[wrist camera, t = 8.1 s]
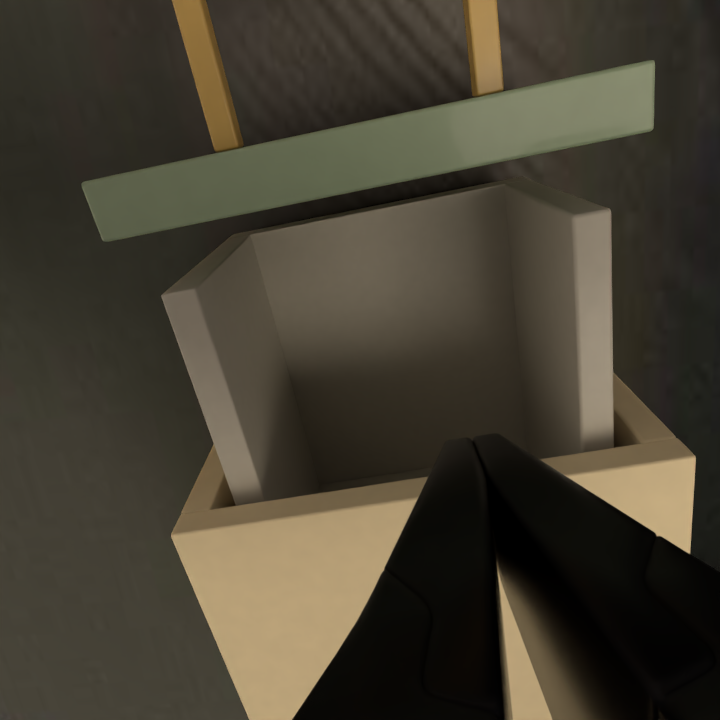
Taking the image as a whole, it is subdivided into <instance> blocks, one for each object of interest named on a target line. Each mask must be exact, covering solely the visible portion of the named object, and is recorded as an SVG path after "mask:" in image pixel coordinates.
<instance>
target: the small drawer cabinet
mask: <svg viewBox="0 0 720 720" xmlns="http://www.w3.org/2000/svg"><path fill="white" fill-rule="evenodd" d="M613 422H614V448H610V449H603V450H597V451H590V452H584V453H577V454H571V455H564V456H558V457H551V458H545V459H540V460H541V461H543V462H544V463H546V464H548V465H549V466H551V467H552V468H554V469H556V470H557V471H559V472H560V473H562V474H563V475H565V476H567V477H568V478H570V479H571V480H573V481H574V482H576V483H578V484H579V485H581V486H582V487H584V488H586V489H587V490H589V491H590V492H592V493H593V494H595V495H597V496H598V497H600V498H601V499H603V500H604V501H606V502H608V503H609V504H611V505H612V506H614V507H616V508H617V509H619V510H620V511H622V512H623V513H625V514H627V515H628V516H630V517H631V518H633V519H634V520H636V521H638V522H639V523H641V524H642V525H644V526H646V527H647V528H649V529H650V530H652V531H653V532H655V533H656V535H657V536H662V537H663V538H665V539H666V540H668V541H670V542H671V543H673V544H674V545H676V546H678V547H679V548H681V549H682V550H684V551H685V552H687V553H689V554H690V547H691V530H692V514H693V497H694V480H695V464H696V457H695V455H694V454H693V453H692V452H691V451H690V450H689V449H688V448H687V447H686V446H685V445H684V444H683V443H682V442H681V441H680V440H679V439H676V437H675V435H674V434H673V433H672V432H671V431H670V430H669V429H668V428H667V427H666V426H665V425H664V424H663V423H662V422H661V421H660V420H659V419H658V418H657V417H656V416H655V415H654V414H653V413H652V412H651V411H650V410H649V409H648V408H647V407H646V405H645V404H644V403H643V402H642V401H641V400H640V399H639V398H638V397H637V396H636V395H635V394H634V393H633V392H632V391H631V390H630V389H629V388H628V387H627V386H626V385H625V384H624V383H623V382H622V381H621V380H620V379H619V378H618V377H617V376H616V375H615V374H614V373H613ZM427 478H428V477H421V478H415V479H408V480H402V481H395V482H389V483H382V484H376V485H369V486H363V487H356V488H349V489H343V490H336V491H330V492H323V493H317V494H310V495H304V496H297V497H291V498H284V499H278V500H271V501H265V502H258V503H252V504H245V505H239V506H236V505H235V502H234V499H233V496H232V493H231V490H230V488H229V485H228V482H227V479H226V476H225V474H224V471H223V468H222V465H221V462H220V460H219V457H218V454H217V451H216V448H215V446H214V445H213V447H212V449H211V451H210V453H209V455H208V457H207V459H206V461H205V463H204V466H203V468H202V470H201V472H200V474H199V476H198V478H197V480H196V482H195V485H194V487H193V489H192V491H191V493H190V495H189V497H188V499H187V501H186V503H185V506H184V508H183V510H182V512H181V515H180V517H179V519H178V521H177V523H176V525H175V527H174V530H173V532H172V534H171V538H172V540H173V542H174V545H175V547H176V549H177V552H178V554H179V556H180V559H181V561H182V563H183V566H184V568H185V570H186V573H187V575H188V577H189V580H190V582H191V584H192V587H193V589H194V591H195V594H196V596H197V598H198V601H199V603H200V605H201V608H202V610H203V612H204V615H205V617H206V619H207V622H208V624H209V626H210V629H211V631H212V633H213V636H214V638H215V640H216V643H217V645H218V647H219V650H220V652H221V654H222V657H223V659H224V662H225V664H226V666H227V669H228V671H229V673H230V676H231V678H232V680H233V683H234V685H235V687H236V690H237V692H238V694H239V697H240V699H241V701H242V704H243V706H244V708H245V711H246V713H247V715H248V718H249V720H292V719H293V717H294V716H295V714H296V713H297V711H298V710H299V708H300V707H301V705H302V704H303V702H304V701H305V699H306V698H307V696H308V695H309V693H310V692H311V690H312V689H313V687H314V686H315V684H316V683H317V681H318V680H319V678H320V677H321V675H322V674H323V672H324V671H325V669H326V668H327V667H328V665H329V664H330V662H331V661H332V659H333V658H334V656H335V655H336V653H337V652H338V650H339V648H340V647H341V645H342V644H343V642H344V640H345V639H346V637H347V636H348V634H349V632H350V631H351V629H352V628H353V626H354V625H355V623H356V621H357V620H358V618H359V616H360V614H361V612H362V610H363V609H364V607H365V605H366V603H367V601H368V599H369V597H370V595H371V594H372V592H373V590H374V588H375V585H376V583H377V581H378V579H379V577H380V575H381V573H382V572H383V571H384V567H385V565H386V563H387V561H388V559H389V557H390V555H391V553H392V551H393V549H394V547H395V545H396V543H397V540H398V538H399V536H400V534H401V532H402V530H403V528H404V526H405V524H406V522H407V520H408V518H409V516H410V514H411V512H412V509H413V507H414V505H415V503H416V501H417V499H418V497H419V495H420V493H421V491H422V489H423V487H424V485H425V483H426V481H427ZM498 578H499V586H500V595H501V605H502V615H503V625H504V635H505V645H506V655H507V665H508V675H509V686H510V696H511V706H512V716H513V720H552V717H551V714H550V712H549V709H548V706H547V704H546V701H545V698H544V696H543V693H542V690H541V688H540V685H539V682H538V680H537V677H536V674H535V672H534V669H533V666H532V664H531V661H530V658H529V656H528V653H527V650H526V648H525V645H524V642H523V640H522V637H521V634H520V632H519V629H518V626H517V624H516V621H515V618H514V616H513V613H512V610H511V608H510V605H509V602H508V600H507V597H506V594H505V592H504V589H503V586H502V583H501V580H500V577H499V573H498Z"/></svg>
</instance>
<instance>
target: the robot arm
mask: <svg viewBox="0 0 720 720" xmlns="http://www.w3.org/2000/svg"><path fill="white" fill-rule="evenodd" d="M498 573H499V577H500V580H501V583H502V586H503V589H504V592H505V594H506V597H507V600H508V602H509V605H510V608H511V610H512V613H513V616H514V618H515V621H516V624H517V626H518V629H519V632H520V634H521V637H522V640H523V642H524V645H525V648H526V650H527V653H528V656H529V658H530V661H531V664H532V666H533V669H534V672H535V674H536V677H537V680H538V682H539V685H540V688H541V690H542V693H543V696H544V698H545V701H546V704H547V706H548V709H549V712H550V714H551V717H552V720H720V572H719V571H717V570H715V569H714V568H712V567H710V566H709V565H707V564H705V563H704V562H702V561H700V560H699V559H697V558H695V557H694V556H692V555H690V554H689V553H687V552H685V551H684V550H682V549H681V548H679V547H678V546H676V545H674V544H673V543H671V542H670V541H668V540H666V539H665V538H663V537H662V536H657V535H656V533H655V532H653V531H652V530H650V529H649V528H647V527H646V526H644V525H642V524H641V523H639V522H638V521H636V520H634V519H633V518H631V517H630V516H628V515H627V514H625V513H623V512H622V511H620V510H619V509H617V508H616V507H614V506H612V505H611V504H609V503H608V502H606V501H604V500H603V499H601V498H600V497H598V496H597V495H595V494H593V493H592V492H590V491H589V490H587V489H586V488H584V487H582V486H581V485H579V484H578V483H576V482H574V481H573V480H571V479H570V478H568V477H567V476H565V475H563V474H562V473H560V472H559V471H557V470H556V469H554V468H552V467H551V466H549V465H548V464H546V463H544V462H543V461H541V460H540V459H538V458H537V457H535V456H533V455H532V454H530V453H529V452H527V451H526V450H524V449H522V448H521V447H519V446H518V445H516V444H514V443H513V442H511V441H510V440H508V439H507V438H505V437H503V436H502V435H500V434H498V433H493V434H486V435H480V436H475V437H474V438H473V440H471V438H468V437H466V438H459V439H453V440H447V441H446V442H445V443H444V445H443V447H442V449H441V452H440V454H439V456H438V458H437V460H436V462H435V464H434V466H433V468H432V470H431V472H430V474H429V476H428V478H427V481H426V483H425V485H424V487H423V489H422V491H421V493H420V495H419V497H418V499H417V501H416V503H415V505H414V507H413V509H412V512H411V514H410V516H409V518H408V520H407V522H406V524H405V526H404V528H403V530H402V532H401V534H400V536H399V538H398V540H397V543H396V545H395V547H394V549H393V551H392V553H391V555H390V557H389V559H388V561H387V563H386V565H385V567H384V571H383V572H382V573H381V575H380V577H379V579H378V581H377V583H376V585H375V588H374V590H373V592H372V594H371V595H370V597H369V599H368V601H367V603H366V605H365V607H364V609H363V610H362V612H361V614H360V616H359V618H358V620H357V621H356V623H355V625H354V626H353V628H352V629H351V631H350V632H349V634H348V636H347V637H346V639H345V640H344V642H343V644H342V645H341V647H340V648H339V650H338V652H337V653H336V655H335V656H334V658H333V659H332V661H331V662H330V664H329V665H328V667H327V668H326V669H325V671H324V672H323V674H322V675H321V677H320V678H319V680H318V681H317V683H316V684H315V686H314V687H313V689H312V690H311V692H310V693H309V695H308V696H307V698H306V699H305V701H304V702H303V704H302V705H301V707H300V708H299V710H298V711H297V713H296V714H295V716H294V717H293V719H292V720H513V716H512V706H511V696H510V686H509V675H508V665H507V655H506V645H505V635H504V625H503V615H502V605H501V595H500V586H499V578H498Z"/></svg>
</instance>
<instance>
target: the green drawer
mask: <svg viewBox="0 0 720 720" xmlns="http://www.w3.org/2000/svg"><path fill="white" fill-rule="evenodd" d="M172 3H173V6H174V10H175V13H176V17H177V20H178V24H179V27H180V31H181V34H182V38H183V41H184V45H185V48H186V52H187V56H188V59H189V63H190V66H191V70H192V73H193V77H194V80H195V84H196V87H197V91H198V94H199V98H200V101H201V105H202V108H203V112H204V115H205V119H206V122H207V126H208V129H209V133H210V136H211V140H212V144H213V147H214V150H215V152H218V153H214V154H209V155H205V156H200V157H195V158H191V159H186V160H181V161H177V162H172V163H168V164H163V165H158V166H154V167H149V168H144V169H140V170H135V171H131V172H126V173H121V174H117V175H112V176H108V177H103V178H98V179H94V180H89V181H84V182H83V183H82V189H83V191H84V194H85V196H86V199H87V202H88V204H89V207H90V209H91V212H92V215H93V217H94V220H95V222H96V225H97V228H98V230H99V233H100V235H101V238H102V240H103V241H104V242H110V241H115V240H120V239H125V238H130V237H135V236H139V235H144V234H149V233H154V232H159V231H164V230H169V229H174V228H179V227H184V226H189V225H194V224H198V223H203V222H208V221H213V220H218V219H223V218H228V217H233V216H238V215H243V214H248V213H253V212H257V211H262V210H267V209H272V208H277V207H282V206H287V205H292V204H297V203H302V202H307V201H312V200H316V199H321V198H326V197H331V196H336V195H341V194H346V193H351V192H356V191H361V190H366V189H371V188H375V187H380V186H385V185H390V184H395V183H400V182H405V181H410V180H415V179H420V178H425V177H430V176H434V175H439V174H444V173H449V172H454V171H459V170H464V169H469V168H474V167H479V166H484V165H489V164H494V163H498V162H503V161H508V160H513V159H518V158H523V157H528V156H533V155H538V154H543V153H548V152H553V151H557V150H562V149H567V148H572V147H577V146H582V145H587V144H592V143H597V142H602V141H607V140H612V139H616V138H621V137H626V136H631V135H636V134H641V133H646V132H650V131H651V130H653V127H654V82H655V63H654V61H653V60H648V61H643V62H638V63H634V64H629V65H624V66H620V67H615V68H610V69H605V70H601V71H596V72H591V73H587V74H582V75H577V76H573V77H568V78H563V79H559V80H554V81H549V82H544V83H540V84H535V85H530V86H526V87H521V88H516V89H512V90H507V91H503V90H504V84H503V72H502V60H501V48H500V35H499V23H498V11H497V0H463V8H464V18H465V28H466V37H467V47H468V57H469V67H470V76H471V86H472V95H473V97H475V98H470V99H465V100H461V101H456V102H451V103H447V104H442V105H437V106H433V107H428V108H423V109H419V110H414V111H409V112H405V113H400V114H395V115H391V116H386V117H381V118H377V119H372V120H368V121H363V122H358V123H354V124H349V125H344V126H340V127H335V128H330V129H326V130H321V131H316V132H312V133H307V134H302V135H298V136H293V137H288V138H284V139H279V140H274V141H270V142H265V143H260V144H256V145H251V146H246V147H243V144H244V143H243V140H242V136H241V132H240V128H239V124H238V121H237V117H236V113H235V109H234V105H233V102H232V98H231V94H230V90H229V86H228V82H227V79H226V75H225V71H224V67H223V63H222V60H221V56H220V52H219V48H218V44H217V41H216V37H215V33H214V29H213V25H212V22H211V18H210V14H209V10H208V6H207V3H206V0H172ZM161 297H162V300H163V303H164V305H165V308H166V311H167V314H168V317H169V319H170V322H171V325H172V328H173V331H174V333H175V336H176V339H177V342H178V345H179V347H180V350H181V353H182V356H183V359H184V361H185V364H186V367H187V370H188V373H189V376H190V378H191V381H192V384H193V387H194V390H195V392H196V395H197V398H198V401H199V404H200V406H201V409H202V412H203V415H204V418H205V420H206V423H207V426H208V429H209V432H210V434H211V437H212V440H213V443H214V446H215V448H216V451H217V454H218V457H219V460H220V462H221V465H222V468H223V471H224V474H225V476H226V479H227V482H228V485H229V488H230V490H231V493H232V496H233V499H234V502H235V505H236V506H239V505H245V504H252V503H258V502H265V501H271V500H278V499H284V498H291V497H297V496H304V495H310V494H317V493H323V492H330V491H336V490H343V489H349V488H356V487H363V486H369V485H376V484H382V483H389V482H395V481H402V480H408V479H415V478H421V477H428V476H429V474H430V472H431V470H432V468H433V466H434V464H435V462H436V460H437V458H438V456H439V454H440V452H441V449H442V447H443V445H444V443H445V442H446V441H447V440H453V439H459V438H466V437H468V438H471V440H473V438H474V437H475V436H480V435H486V434H493V433H498V434H500V435H502V436H503V437H505V438H507V439H508V440H510V441H511V442H513V443H514V444H516V445H518V446H519V447H521V448H522V449H524V450H526V451H527V452H529V453H530V454H532V455H533V456H535V457H537V458H538V459H545V458H551V457H558V456H564V455H571V454H577V453H584V452H590V451H597V450H603V449H610V448H614V422H613V335H612V247H611V211H610V209H609V208H606V207H603V206H601V205H598V204H595V203H592V202H590V201H587V200H584V199H581V198H579V197H576V196H573V195H571V194H568V193H565V192H562V191H560V190H557V189H554V188H551V187H549V186H546V185H543V184H541V183H538V182H535V181H532V180H530V179H529V178H526V177H523V176H521V177H516V178H511V179H506V180H501V181H496V182H491V183H486V184H481V185H476V186H471V187H466V188H461V189H456V190H451V191H446V192H441V193H436V194H431V195H426V196H421V197H416V198H411V199H406V200H401V201H396V202H391V203H386V204H381V205H376V206H371V207H366V208H361V209H356V210H351V211H346V212H342V213H337V214H332V215H327V216H322V217H317V218H312V219H307V220H302V221H297V222H292V223H287V224H282V225H277V226H272V227H267V228H262V229H257V230H252V231H247V232H242V233H237V234H233V235H232V236H230V237H229V238H228V239H227V240H226V241H224V242H223V243H222V244H221V245H220V246H219V247H217V248H216V249H215V250H214V251H213V252H211V253H210V254H209V255H208V256H207V257H206V258H204V259H203V260H202V261H201V262H200V263H199V264H197V265H196V266H195V267H194V268H193V269H191V270H190V271H189V272H188V273H187V274H186V275H184V276H183V277H182V278H181V279H180V280H178V281H177V282H176V283H175V284H174V285H173V286H171V287H170V288H169V289H168V290H167V291H165V292H164V293H163V294H162V295H161Z"/></svg>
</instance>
